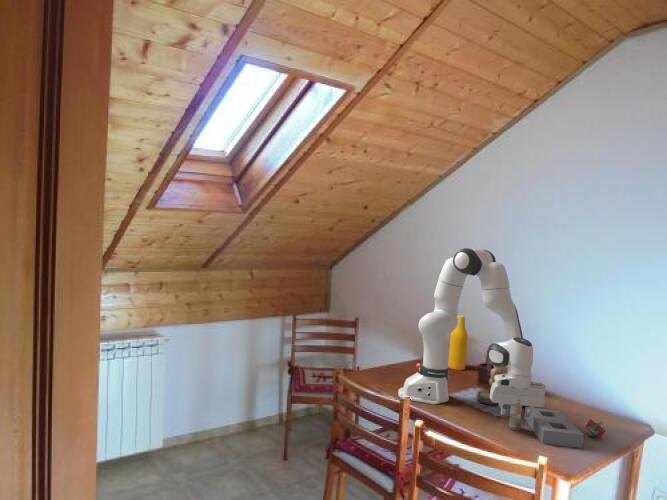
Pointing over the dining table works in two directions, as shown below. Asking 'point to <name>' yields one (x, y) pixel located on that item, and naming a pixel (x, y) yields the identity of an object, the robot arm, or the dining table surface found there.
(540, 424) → the socket block
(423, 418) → the dining table surface
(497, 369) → the ceramic jug
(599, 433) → the geometric puzzle
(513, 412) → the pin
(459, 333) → the beer bottle
